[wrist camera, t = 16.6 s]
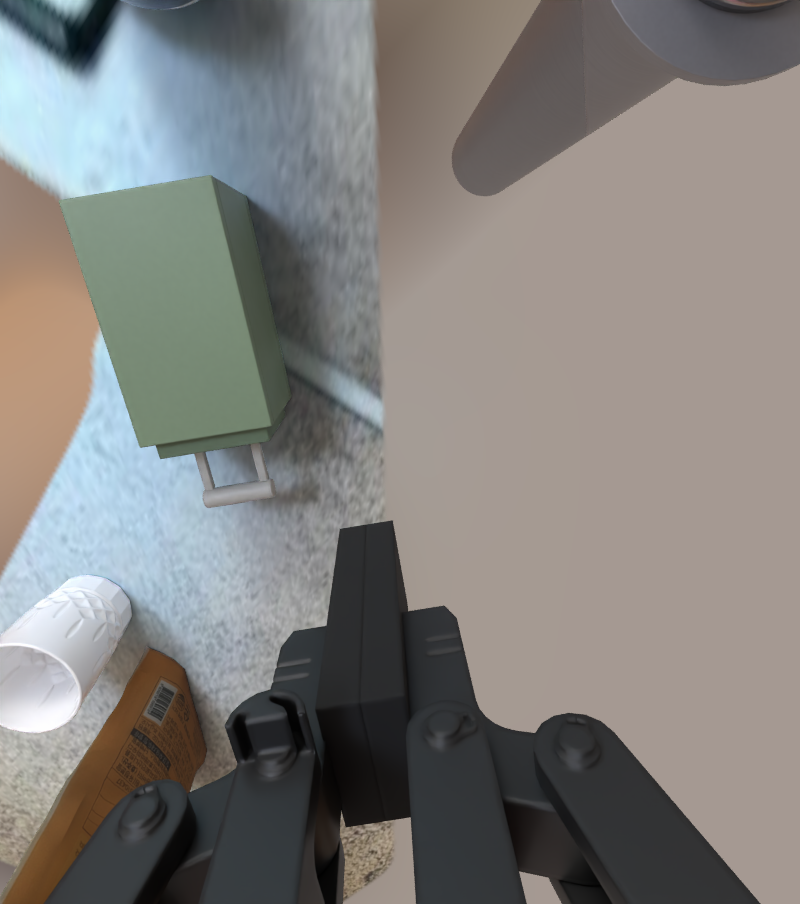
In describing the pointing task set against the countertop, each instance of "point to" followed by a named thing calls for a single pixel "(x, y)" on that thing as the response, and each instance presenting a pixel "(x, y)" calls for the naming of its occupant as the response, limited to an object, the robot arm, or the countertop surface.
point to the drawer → (201, 445)
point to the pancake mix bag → (115, 771)
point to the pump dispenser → (160, 3)
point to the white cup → (59, 653)
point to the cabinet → (182, 307)
